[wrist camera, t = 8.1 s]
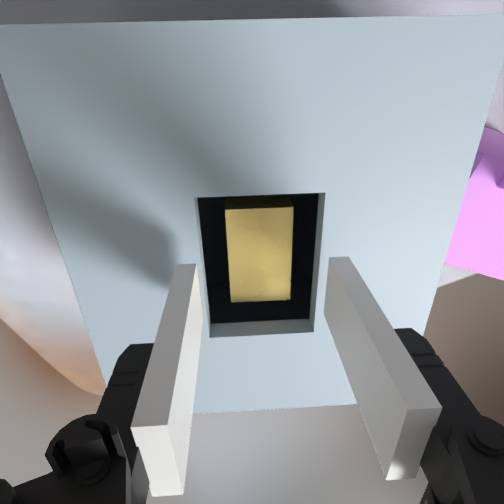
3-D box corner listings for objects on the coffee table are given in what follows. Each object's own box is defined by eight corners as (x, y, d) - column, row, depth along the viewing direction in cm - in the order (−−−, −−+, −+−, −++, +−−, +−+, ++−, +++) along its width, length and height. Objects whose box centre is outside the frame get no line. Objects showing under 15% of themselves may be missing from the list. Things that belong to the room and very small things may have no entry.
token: (228, 164, 22) (225, 209, 15) (274, 162, 22) (293, 207, 15) (232, 234, 24) (231, 302, 17) (273, 232, 24) (290, 299, 17)
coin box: (112, 47, 20) (-17, 24, 10) (373, 40, 21) (517, 14, 10) (158, 291, 29) (117, 418, 18) (342, 282, 30) (403, 400, 19)
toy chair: (358, 217, 27) (482, 362, 14) (415, 101, 23) (667, 146, 10) (447, 241, 28) (635, 393, 15) (514, 137, 24) (848, 219, 11)
